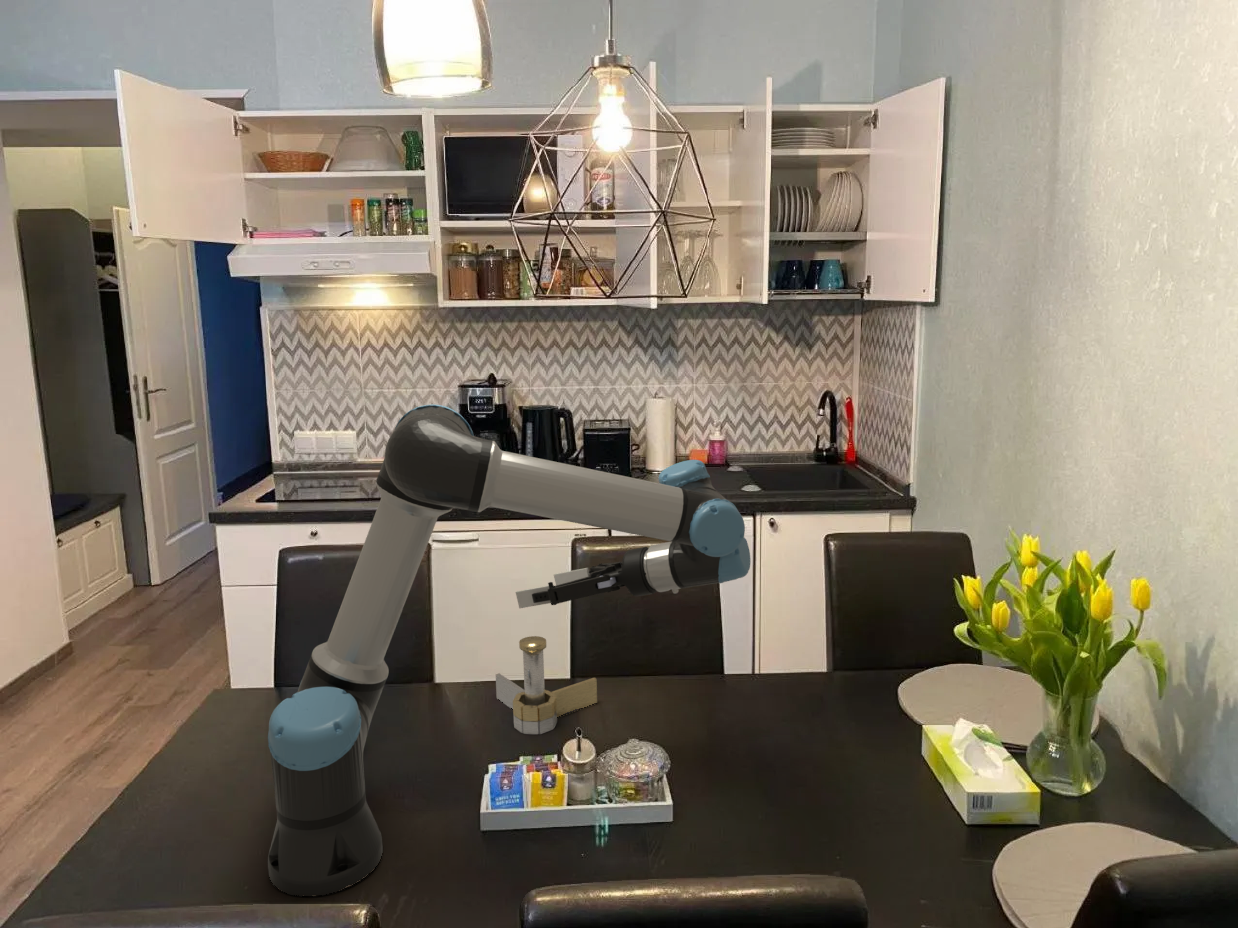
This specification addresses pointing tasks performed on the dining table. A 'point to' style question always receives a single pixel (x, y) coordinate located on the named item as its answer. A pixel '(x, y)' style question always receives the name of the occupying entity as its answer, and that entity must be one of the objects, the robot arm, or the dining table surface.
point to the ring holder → (555, 703)
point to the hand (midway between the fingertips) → (537, 590)
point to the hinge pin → (533, 669)
